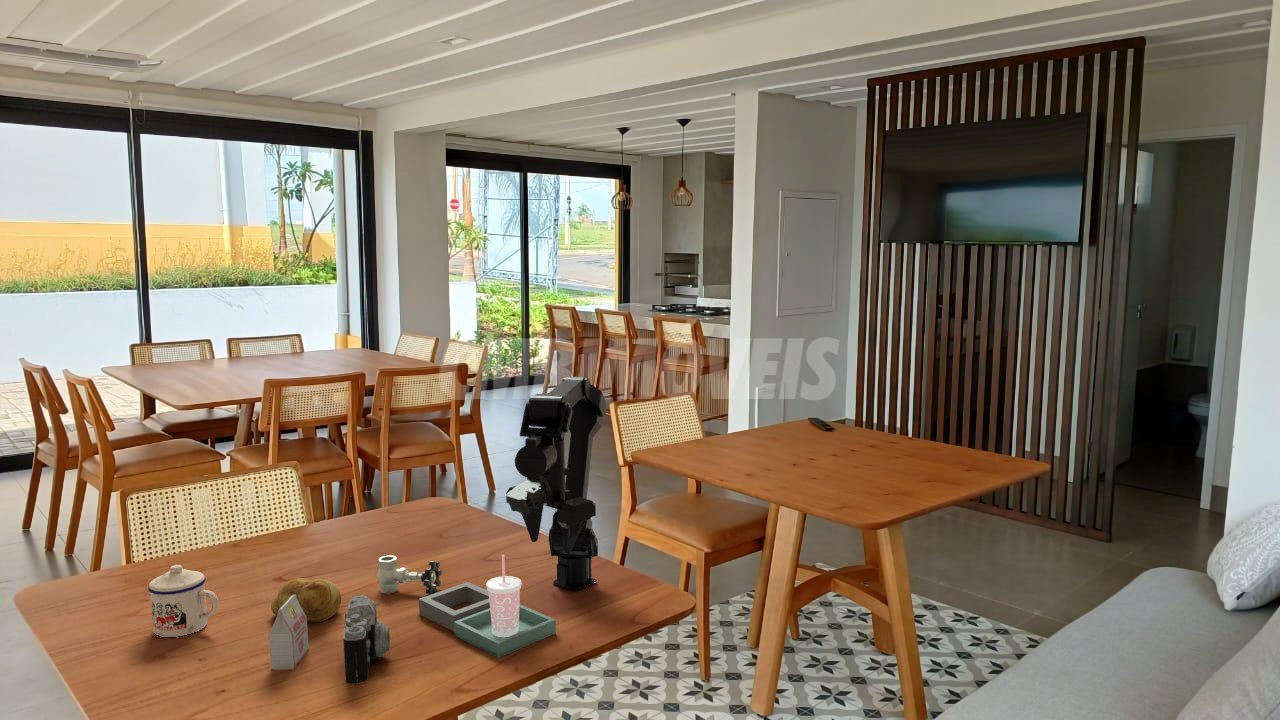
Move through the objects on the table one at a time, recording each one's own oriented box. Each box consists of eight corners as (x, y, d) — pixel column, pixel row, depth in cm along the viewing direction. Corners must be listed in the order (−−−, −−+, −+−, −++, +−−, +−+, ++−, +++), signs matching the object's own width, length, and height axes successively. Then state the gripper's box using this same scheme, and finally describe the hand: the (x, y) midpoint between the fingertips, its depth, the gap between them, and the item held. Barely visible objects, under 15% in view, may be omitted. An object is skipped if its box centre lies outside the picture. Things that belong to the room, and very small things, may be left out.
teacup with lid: (140, 638, 155) (134, 574, 153) (174, 616, 164) (169, 556, 162) (203, 641, 153) (198, 577, 152) (234, 619, 162) (229, 558, 161)
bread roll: (260, 622, 162) (257, 580, 160) (295, 601, 171) (292, 561, 170) (319, 630, 158) (317, 587, 157) (352, 609, 167) (350, 568, 166)
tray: (510, 613, 164) (510, 600, 164) (555, 633, 156) (555, 619, 155) (454, 635, 155) (453, 621, 155) (498, 657, 147) (498, 643, 146)
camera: (388, 680, 139) (385, 620, 138) (343, 686, 138) (339, 625, 137) (391, 640, 154) (388, 585, 152) (350, 644, 152) (347, 589, 151)
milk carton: (271, 669, 143) (267, 610, 142) (286, 650, 150) (283, 594, 149) (293, 669, 143) (290, 610, 142) (308, 650, 150) (305, 593, 149)
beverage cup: (481, 635, 154) (478, 558, 152) (499, 621, 159) (496, 547, 157) (511, 641, 151) (509, 563, 150) (529, 627, 157) (527, 551, 155)
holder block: (468, 596, 172) (467, 581, 172) (503, 612, 165) (503, 597, 164) (419, 614, 164) (418, 598, 164) (454, 631, 157) (453, 615, 156)
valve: (371, 596, 173) (428, 600, 171) (369, 563, 172) (427, 567, 170) (387, 583, 179) (442, 587, 177) (385, 552, 178) (441, 555, 176)
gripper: (481, 463, 160) (484, 546, 162) (549, 482, 147) (551, 572, 149) (529, 452, 168) (530, 532, 170) (597, 469, 155) (598, 554, 158)
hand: (550, 547), depth 162 cm, fingers open, 9 cm apart
